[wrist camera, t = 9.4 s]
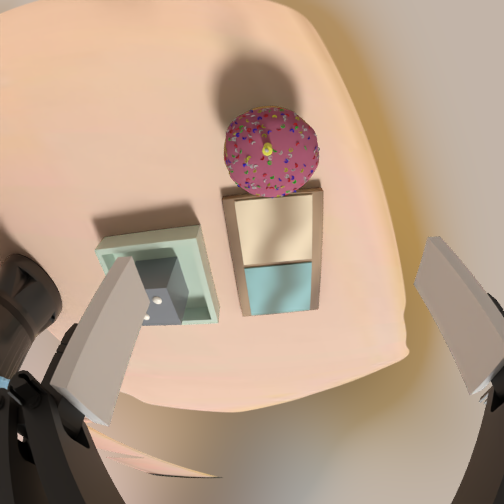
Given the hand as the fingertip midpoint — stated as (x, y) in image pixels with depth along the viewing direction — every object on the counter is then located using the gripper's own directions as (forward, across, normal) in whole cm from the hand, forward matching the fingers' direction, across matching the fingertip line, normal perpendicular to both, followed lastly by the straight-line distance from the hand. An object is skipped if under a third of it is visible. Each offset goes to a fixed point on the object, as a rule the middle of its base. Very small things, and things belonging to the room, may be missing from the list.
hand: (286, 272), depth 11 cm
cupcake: (+20, 0, +1) cm, 20 cm away
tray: (+19, -15, -14) cm, 28 cm away
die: (+19, -15, -14) cm, 28 cm away
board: (+20, 0, -13) cm, 23 cm away
